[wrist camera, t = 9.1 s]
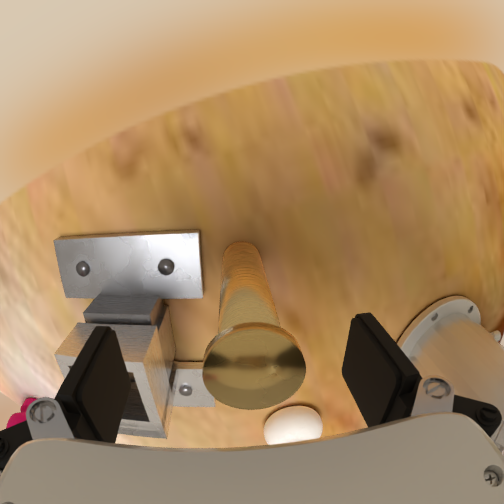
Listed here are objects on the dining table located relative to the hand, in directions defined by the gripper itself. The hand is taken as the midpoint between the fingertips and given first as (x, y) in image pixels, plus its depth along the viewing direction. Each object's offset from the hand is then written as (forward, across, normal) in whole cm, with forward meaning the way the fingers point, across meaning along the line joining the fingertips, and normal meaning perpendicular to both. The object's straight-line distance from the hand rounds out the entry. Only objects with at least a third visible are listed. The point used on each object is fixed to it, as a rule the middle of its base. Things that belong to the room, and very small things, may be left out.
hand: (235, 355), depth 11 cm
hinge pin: (+12, -1, 0) cm, 12 cm away
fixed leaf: (+12, +8, +4) cm, 15 cm away
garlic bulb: (+12, -6, +20) cm, 24 cm away
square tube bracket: (+12, +8, +9) cm, 17 cm away
